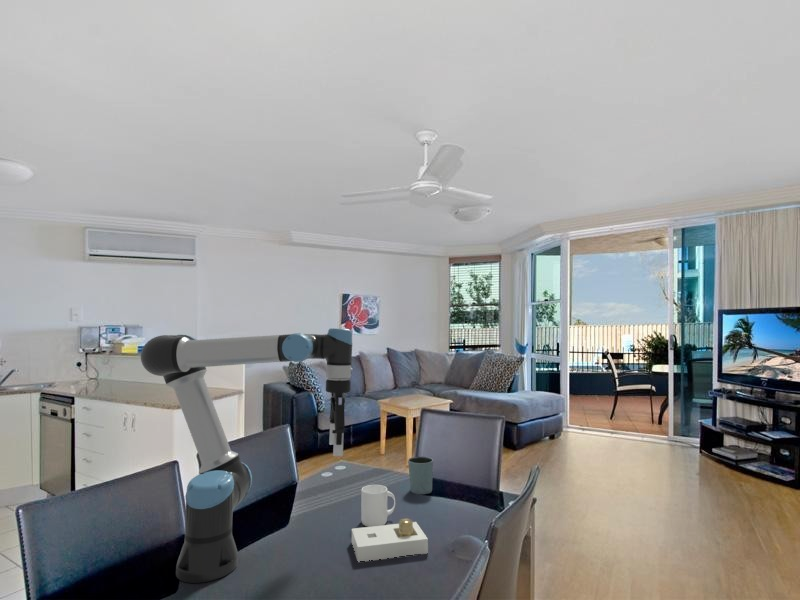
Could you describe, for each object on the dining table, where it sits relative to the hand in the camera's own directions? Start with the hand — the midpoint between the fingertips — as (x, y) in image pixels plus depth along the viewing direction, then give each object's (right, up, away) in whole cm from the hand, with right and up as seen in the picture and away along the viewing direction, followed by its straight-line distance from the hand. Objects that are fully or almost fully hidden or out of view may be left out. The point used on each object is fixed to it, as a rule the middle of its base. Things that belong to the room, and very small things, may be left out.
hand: (335, 449), depth 134 cm
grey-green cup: (+28, -31, +42) cm, 59 cm away
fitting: (+21, -27, -5) cm, 34 cm away
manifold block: (+16, -27, -6) cm, 32 cm away
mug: (+13, -28, +13) cm, 34 cm away
